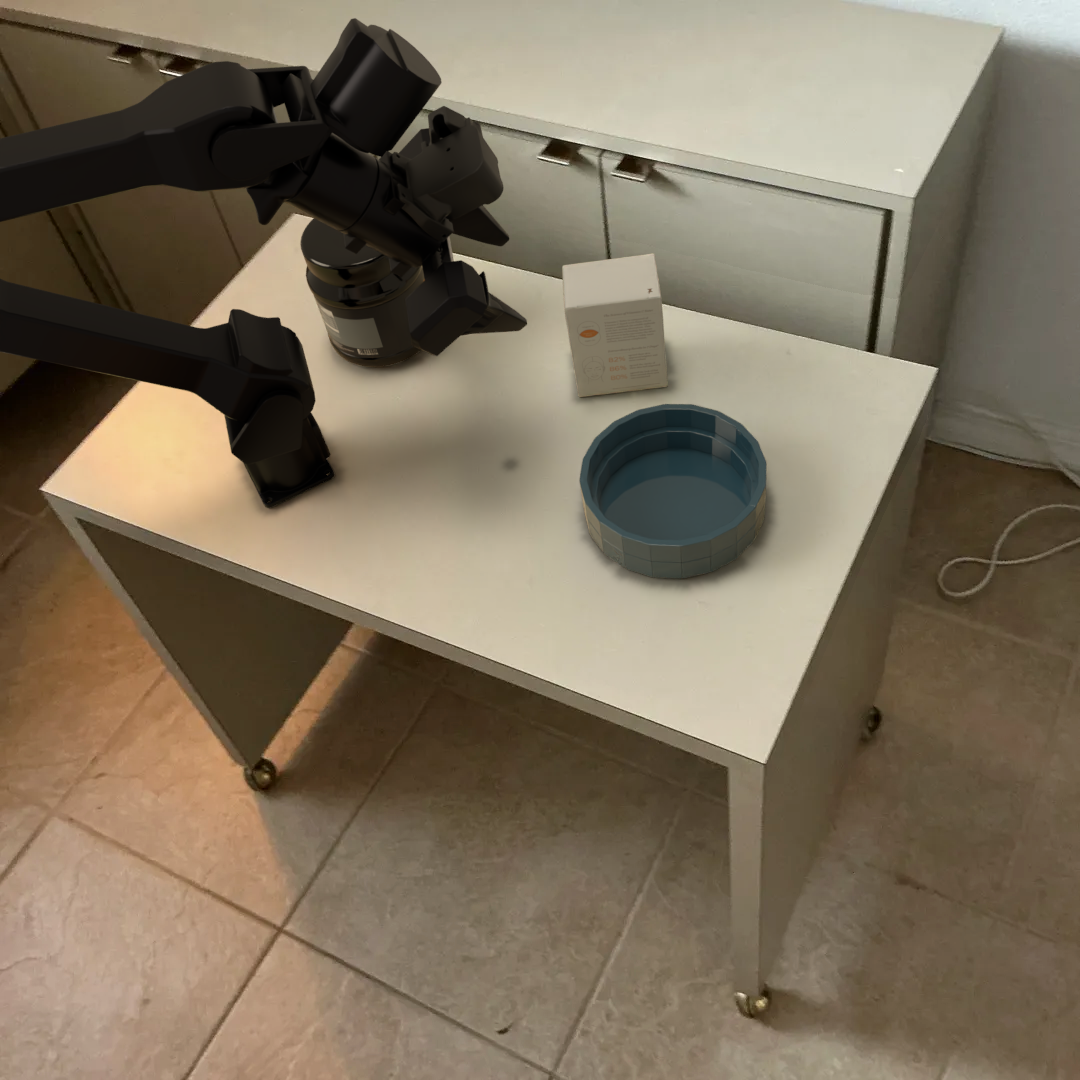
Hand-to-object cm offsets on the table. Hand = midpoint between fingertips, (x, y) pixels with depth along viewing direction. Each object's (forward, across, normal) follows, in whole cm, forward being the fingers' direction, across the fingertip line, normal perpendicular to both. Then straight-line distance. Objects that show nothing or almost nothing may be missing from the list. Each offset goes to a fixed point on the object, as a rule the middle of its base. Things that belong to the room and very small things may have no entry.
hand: (514, 282), depth 90 cm
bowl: (+14, -17, 0) cm, 22 cm away
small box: (+15, -1, +2) cm, 15 cm away
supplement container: (+3, +10, +19) cm, 21 cm away
